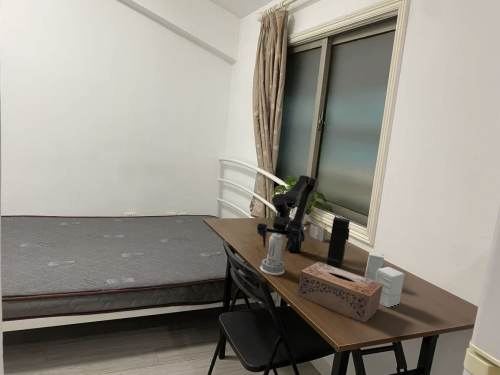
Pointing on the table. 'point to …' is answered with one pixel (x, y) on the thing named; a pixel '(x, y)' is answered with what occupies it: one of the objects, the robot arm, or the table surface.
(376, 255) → the skincare box
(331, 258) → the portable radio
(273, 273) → the dock
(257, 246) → the table surface
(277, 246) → the energy drink can
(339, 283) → the tissue box cover
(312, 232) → the architectural model on board
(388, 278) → the supplement box
